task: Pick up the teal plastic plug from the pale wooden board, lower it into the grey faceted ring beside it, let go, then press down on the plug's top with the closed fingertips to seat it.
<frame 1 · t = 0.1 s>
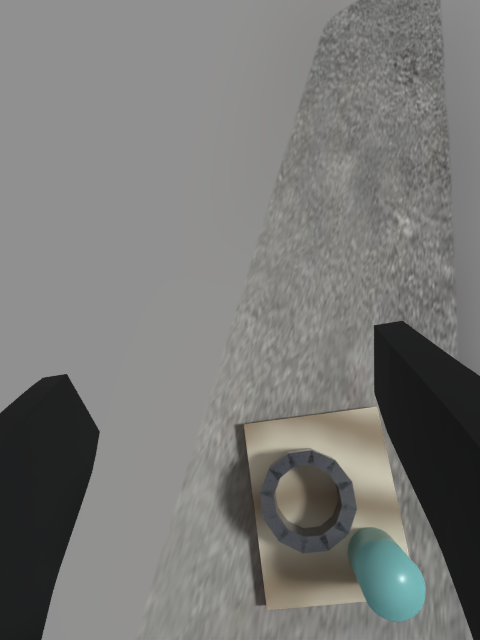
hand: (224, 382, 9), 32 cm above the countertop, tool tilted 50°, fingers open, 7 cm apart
teal plug: (373, 554, 35), point 1 cm above the countertop, touching pale board
pale board: (323, 502, 37), on the countertop
grey faceted ring: (306, 494, 37), resting on pale board
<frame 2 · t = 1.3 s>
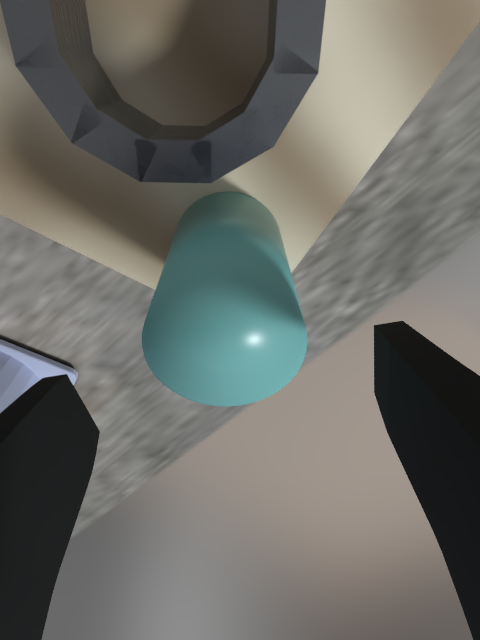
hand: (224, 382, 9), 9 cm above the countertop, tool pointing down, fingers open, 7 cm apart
teal plug: (228, 245, 16), point 1 cm above the countertop, touching pale board
pale board: (207, 85, 14), on the countertop
grey faceted ring: (178, 26, 12), resting on pale board
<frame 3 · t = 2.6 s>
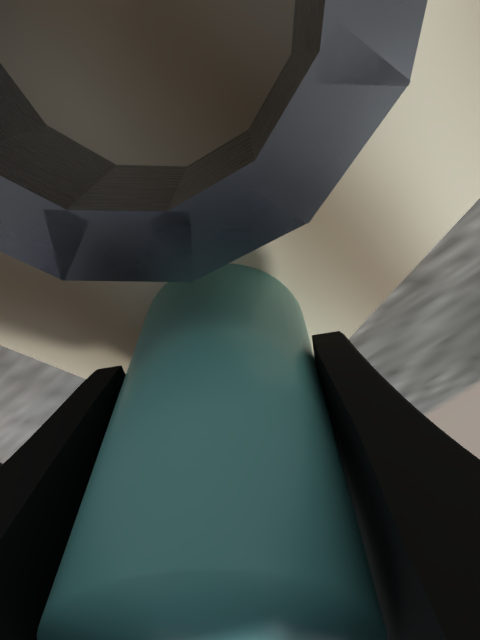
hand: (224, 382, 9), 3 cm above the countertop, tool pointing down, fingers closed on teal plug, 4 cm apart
teal plug: (225, 335, 11), point 1 cm above the countertop, touching gripper, pale board
pale board: (191, 99, 9), on the countertop
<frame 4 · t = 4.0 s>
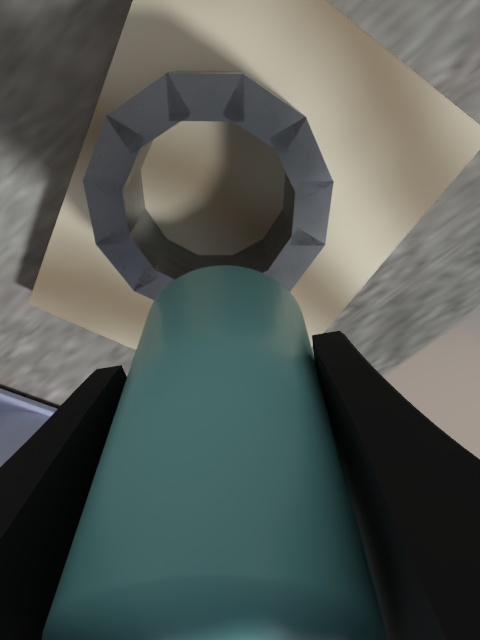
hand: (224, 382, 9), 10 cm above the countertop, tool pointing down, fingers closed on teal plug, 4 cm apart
teal plug: (226, 337, 11), point 8 cm above the countertop, touching gripper
pale board: (233, 220, 17), on the countertop
grey faceted ring: (213, 189, 16), resting on pale board
when the fingers open (5 cm above the countertop, at t = 5.6 s): teal plug drops 2 cm, resting on pale board.
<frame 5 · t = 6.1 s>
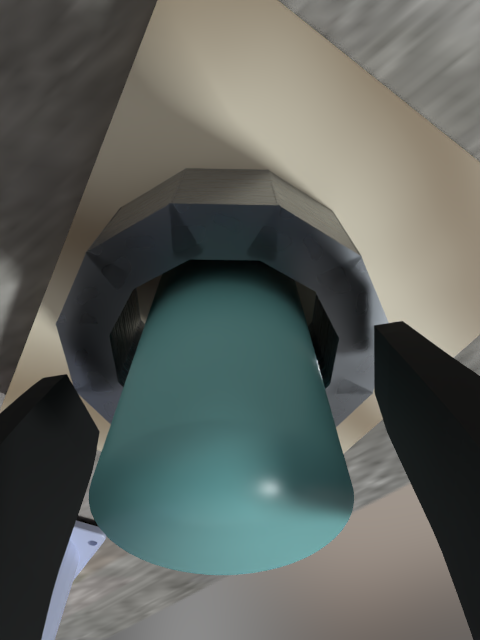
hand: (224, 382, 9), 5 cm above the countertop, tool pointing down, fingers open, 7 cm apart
teal plug: (227, 301, 13), point 1 cm above the countertop, touching pale board
pale board: (249, 325, 14), on the countertop
grey faceted ring: (226, 300, 13), resting on pale board
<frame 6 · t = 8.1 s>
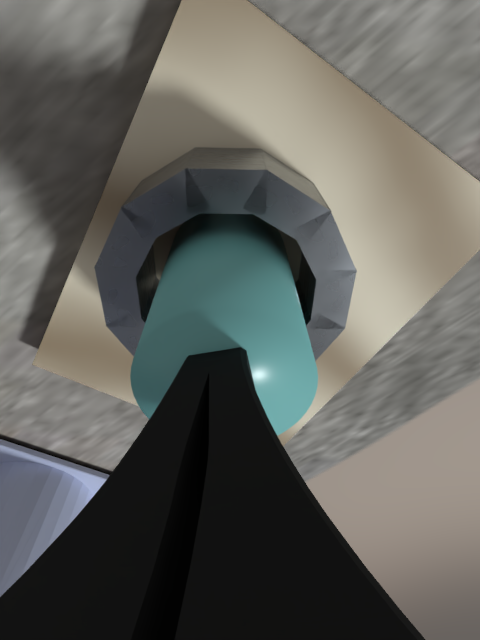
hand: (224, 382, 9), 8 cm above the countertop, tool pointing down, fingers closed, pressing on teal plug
teal plug: (228, 260, 15), point 1 cm above the countertop, touching gripper, pale board
pale board: (246, 285, 17), on the countertop
grey faceted ring: (227, 259, 15), resting on pale board
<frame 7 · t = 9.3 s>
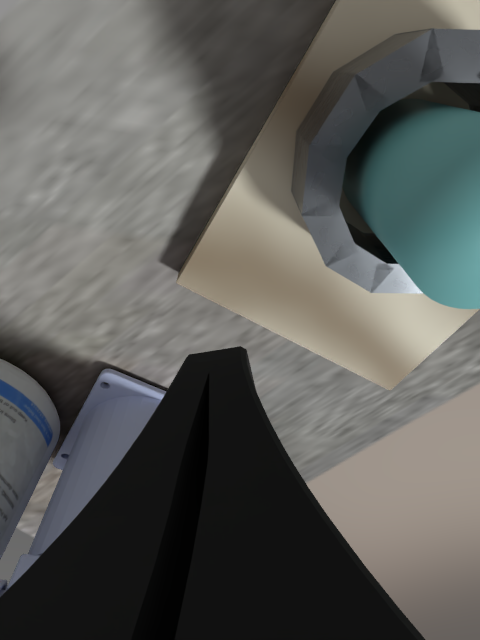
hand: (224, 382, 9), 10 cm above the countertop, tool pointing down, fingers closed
teal plug: (398, 164, 15), point 1 cm above the countertop, touching pale board
pale board: (399, 198, 17), on the countertop
grey faceted ring: (397, 163, 15), resting on pale board
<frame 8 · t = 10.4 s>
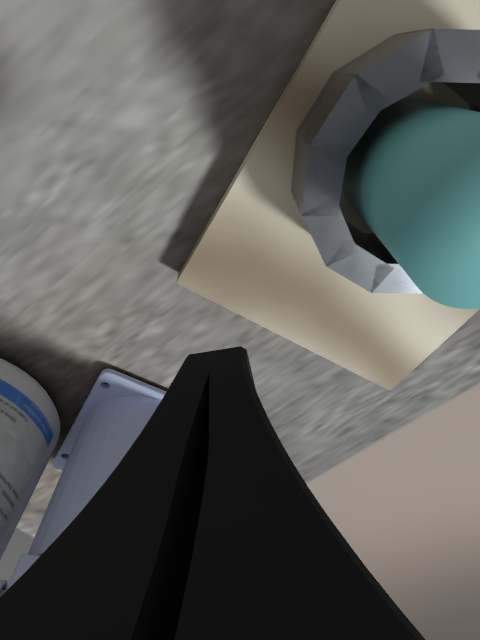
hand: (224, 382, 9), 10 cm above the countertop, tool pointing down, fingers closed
teal plug: (398, 164, 15), point 1 cm above the countertop, touching pale board
pale board: (399, 198, 17), on the countertop
grey faceted ring: (397, 163, 15), resting on pale board
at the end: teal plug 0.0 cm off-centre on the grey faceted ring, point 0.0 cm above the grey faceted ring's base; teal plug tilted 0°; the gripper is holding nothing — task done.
